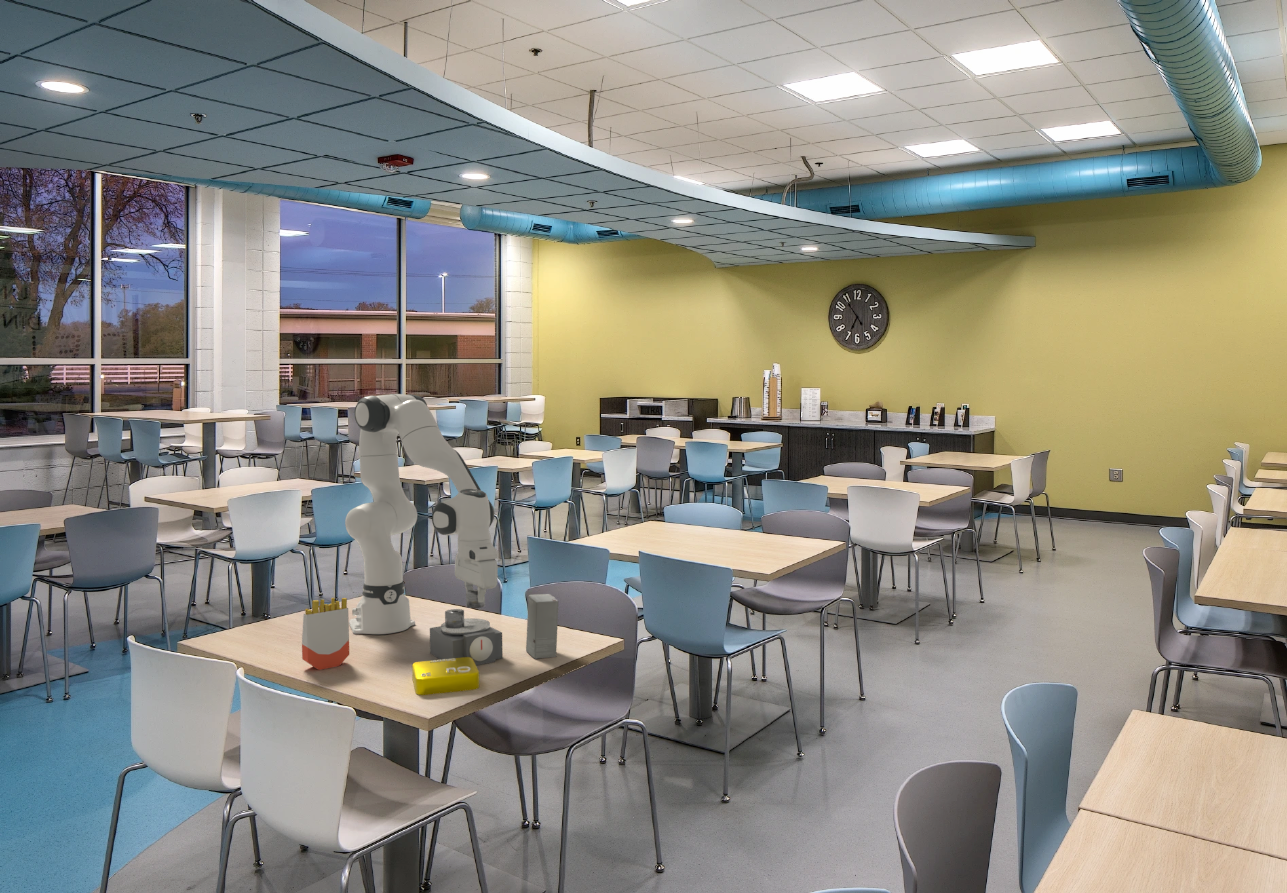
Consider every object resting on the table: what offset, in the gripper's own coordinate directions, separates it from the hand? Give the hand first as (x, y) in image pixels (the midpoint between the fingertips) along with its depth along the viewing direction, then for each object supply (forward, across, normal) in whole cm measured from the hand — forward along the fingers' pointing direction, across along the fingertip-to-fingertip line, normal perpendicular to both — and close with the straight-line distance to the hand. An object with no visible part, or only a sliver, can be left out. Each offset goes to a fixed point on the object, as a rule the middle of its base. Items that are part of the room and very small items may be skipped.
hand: (475, 599), depth 242 cm
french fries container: (+15, -13, -37) cm, 42 cm away
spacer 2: (+2, 0, 0) cm, 2 cm away
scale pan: (+8, 0, -3) cm, 8 cm away
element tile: (+16, +18, -17) cm, 29 cm away
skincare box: (+15, +11, +14) cm, 24 cm away
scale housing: (+15, +1, -3) cm, 15 cm away
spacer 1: (+6, 0, -6) cm, 9 cm away
